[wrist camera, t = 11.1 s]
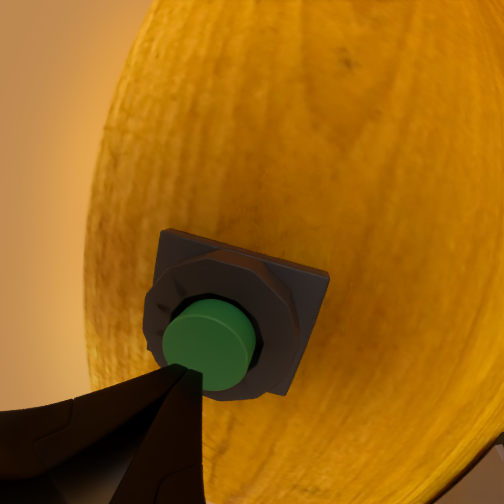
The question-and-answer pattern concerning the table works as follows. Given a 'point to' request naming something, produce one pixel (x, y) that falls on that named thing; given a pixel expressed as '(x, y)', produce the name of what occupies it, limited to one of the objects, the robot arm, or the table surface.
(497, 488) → the drawer
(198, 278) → the control block
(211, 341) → the button
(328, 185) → the table surface
